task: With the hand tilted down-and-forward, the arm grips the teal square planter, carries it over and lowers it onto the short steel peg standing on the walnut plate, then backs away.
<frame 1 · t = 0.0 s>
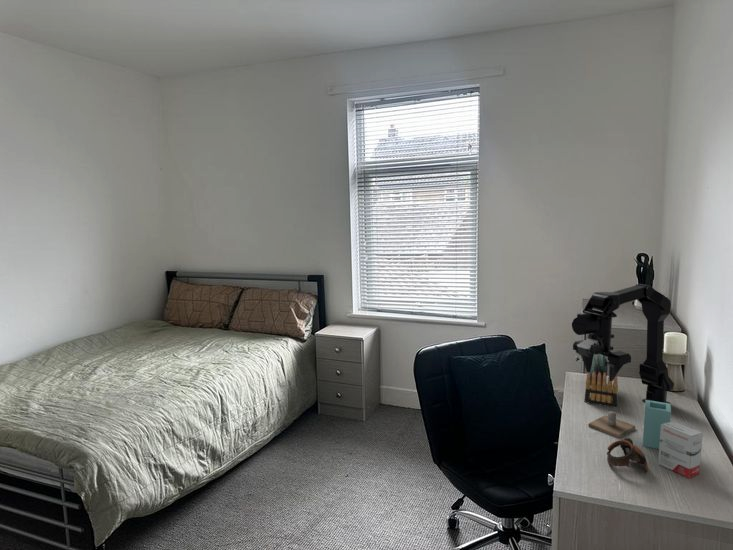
hand: (599, 376, 160), 15 cm above the table, tool pointing down, fingers open, 9 cm apart
green lumpy upright piece: (597, 392, 185), on the table
brown ridged hollow part: (627, 466, 133), on the table
teal square planter: (655, 443, 145), on the table
peg plate: (611, 427, 155), on the table
ink box: (678, 469, 131), on the table
ammunition clip: (600, 404, 174), on the table
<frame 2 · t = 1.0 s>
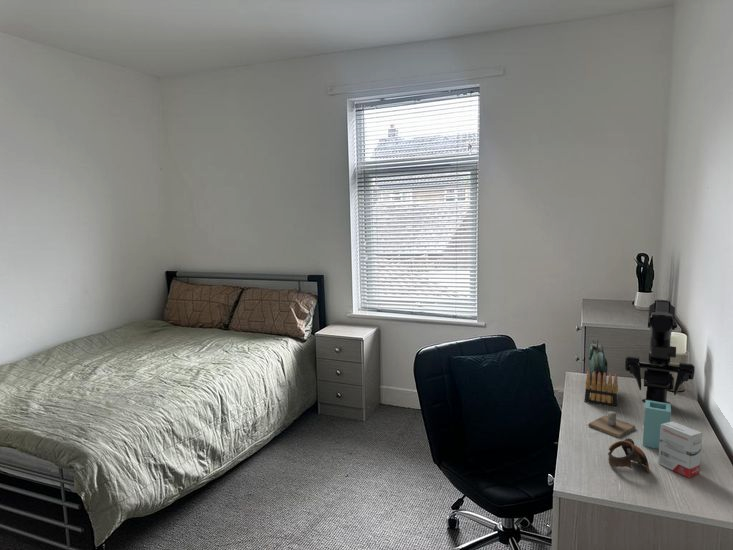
hand: (657, 392, 150), 13 cm above the table, tool tilted 45°, fingers open, 9 cm apart
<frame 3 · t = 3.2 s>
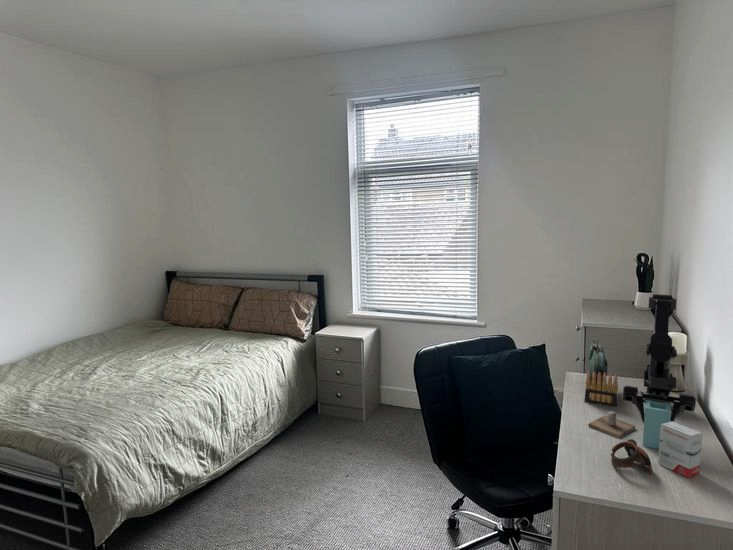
hand: (656, 424, 143), 7 cm above the table, tool tilted 45°, fingers closed on teal square planter, 6 cm apart
teal square planter: (655, 443, 145), on the table, touching gripper
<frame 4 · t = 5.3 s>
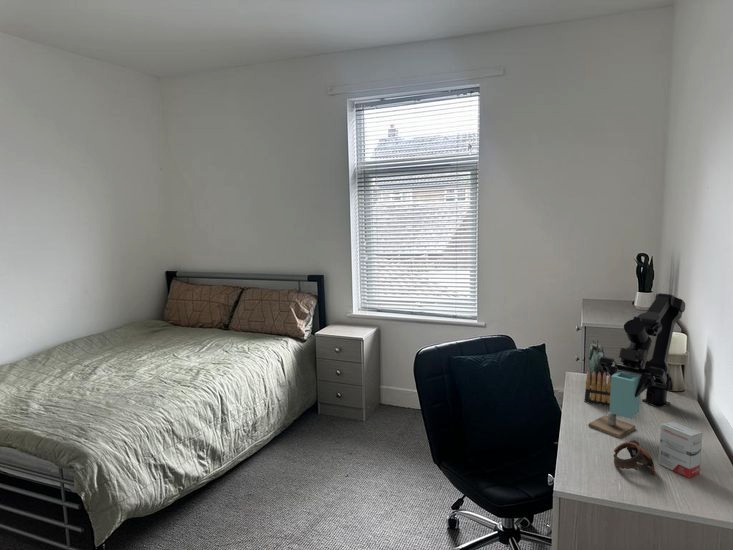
hand: (623, 393, 149), 13 cm above the table, tool tilted 45°, fingers closed on teal square planter, 6 cm apart
teal square planter: (624, 412, 151), point 7 cm above the table, touching gripper
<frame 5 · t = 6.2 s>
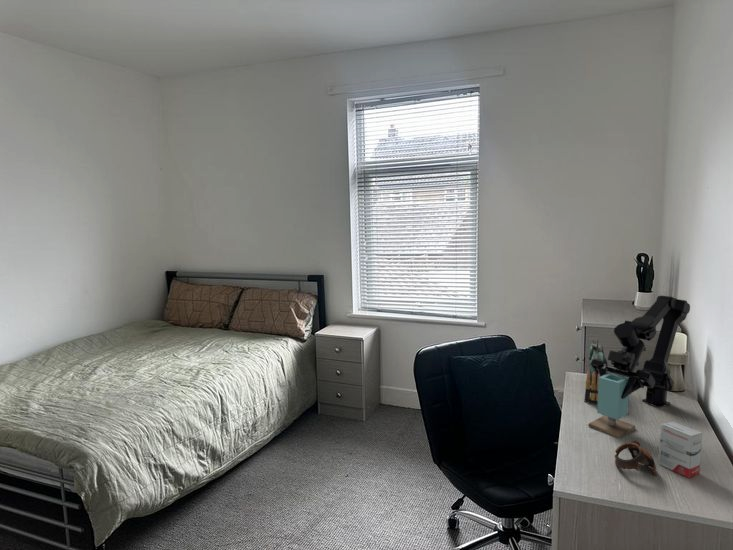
hand: (611, 395, 153), 11 cm above the table, tool tilted 45°, fingers closed on teal square planter, 6 cm apart
teal square planter: (612, 413, 155), point 5 cm above the table, touching gripper
when the fingers open (9 cm above the table, at t = 7.2 s): teal square planter drops 1 cm, resting on peg plate.
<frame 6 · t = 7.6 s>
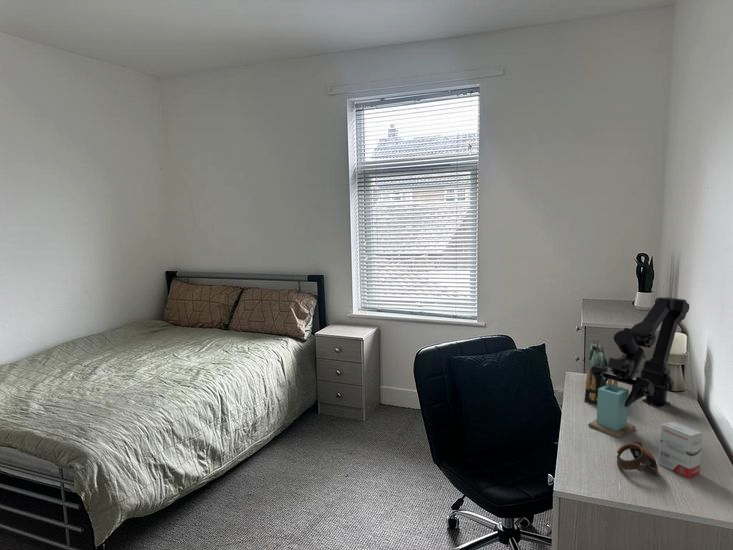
hand: (610, 402, 153), 9 cm above the table, tool tilted 45°, fingers open, 9 cm apart
teal square planter: (611, 424, 155), point 1 cm above the table, touching peg plate
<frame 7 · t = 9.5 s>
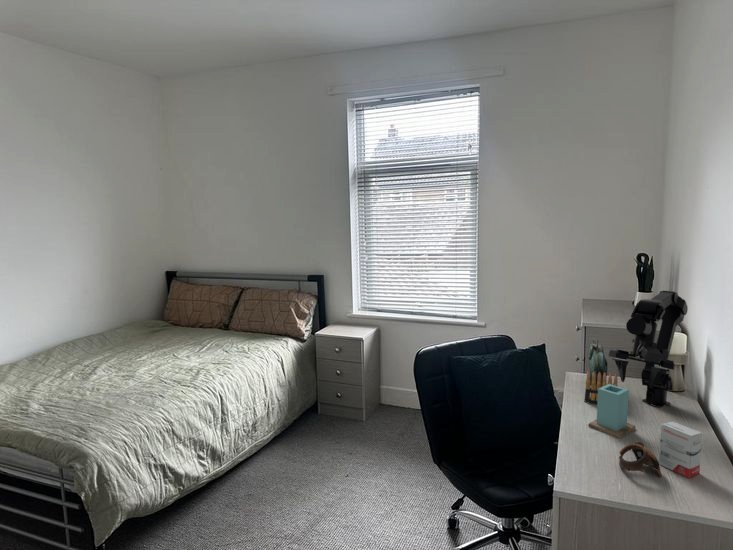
hand: (637, 384, 158), 13 cm above the table, tool tilted 20°, fingers open, 9 cm apart
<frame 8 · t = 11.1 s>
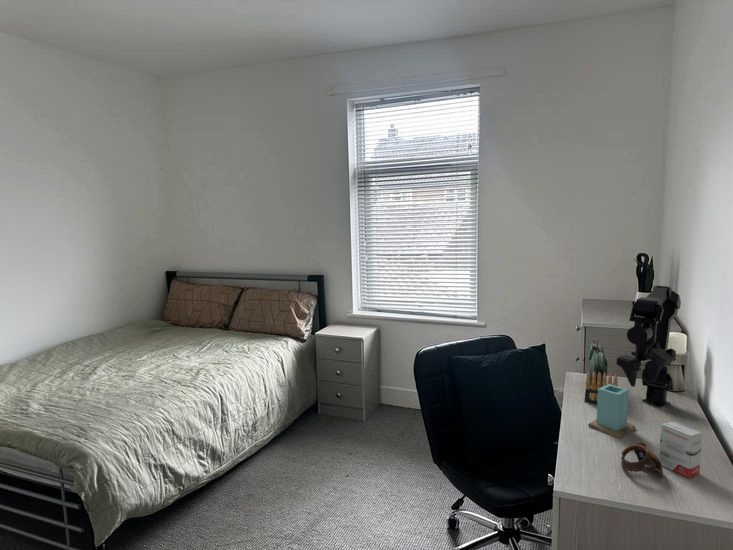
hand: (642, 384, 157), 13 cm above the table, tool pointing down, fingers open, 9 cm apart
at the end: teal square planter 0.0 cm off-centre on the peg plate, point 1.0 cm above the peg plate's base; teal square planter tilted 0°; the gripper is holding nothing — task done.
